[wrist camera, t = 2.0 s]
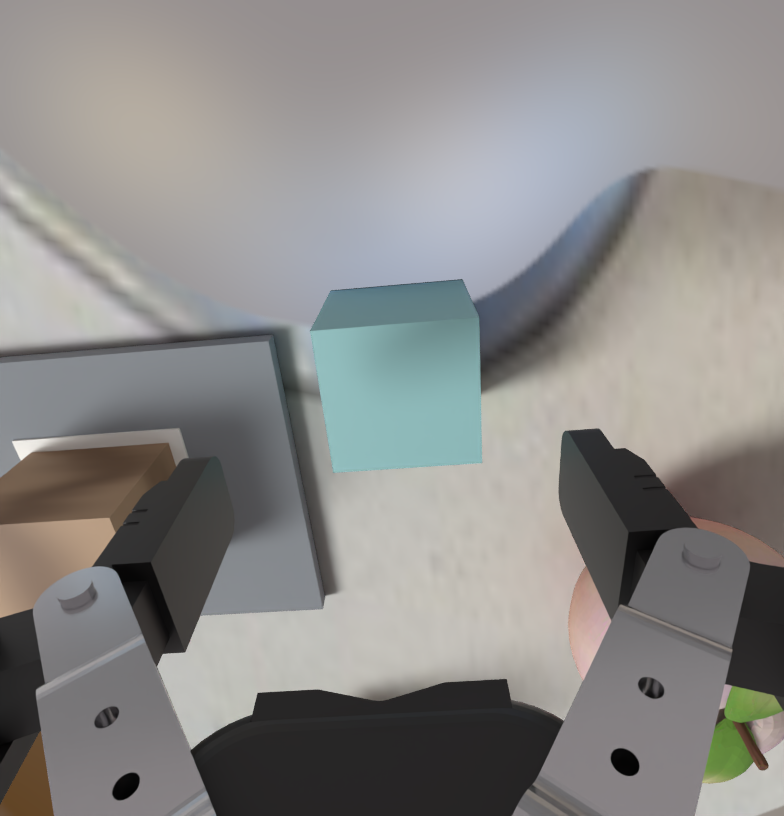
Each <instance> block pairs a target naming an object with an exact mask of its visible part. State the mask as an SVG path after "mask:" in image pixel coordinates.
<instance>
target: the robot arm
mask: <svg viewBox="0 0 784 816" xmlns="http://www.w3.org/2000/svg"><path fill="white" fill-rule="evenodd" d="M559 501H560V506H561V510H562V513H563V516H564V518H565V520H566V522H567V525H568V527H569V529H570V531H571V533H572V536H573V538H574V540H575V542H576V544H577V547H578V549H579V551H580V553H581V555H582V558H583V560H584V562H585V564H586V566H587V569H588V571H589V573H590V575H591V578H592V580H593V582H594V584H595V586H596V589H597V591H598V593H599V595H600V597H601V600H602V602H603V604H604V606H605V608H606V611H607V613H608V615H609V617H610V619H611V623H610V625H609V627H608V630H607V632H606V634H605V636H604V638H603V640H602V642H601V644H600V646H599V649H598V651H597V653H596V655H595V657H594V659H593V661H592V663H591V665H590V668H589V670H588V672H587V674H586V676H585V678H584V680H583V682H582V684H581V687H580V689H579V691H578V693H577V695H576V697H575V699H574V701H573V703H572V706H571V708H570V710H569V712H568V714H567V716H566V718H565V720H564V721H563V720H562V719H560V718H558V717H556V716H555V715H553V714H551V713H549V712H547V711H544V710H542V709H540V708H538V707H535V706H532V705H528V704H525V703H522V702H518V701H513V700H511V698H510V693H509V689H508V684H507V679H499V680H481V681H463V682H445V683H441V684H438V685H435V686H432V687H428V688H425V689H422V690H419V691H415V692H412V693H409V694H405V695H402V696H399V697H396V698H392V699H389V700H385V701H373V700H368V699H363V698H358V697H353V696H348V695H343V694H338V693H333V692H328V691H323V690H301V691H283V692H265V693H258V694H257V698H256V702H255V706H254V710H253V714H252V715H250V716H247V717H244V718H242V719H240V720H237V721H235V722H233V723H230V724H229V725H227V726H225V727H223V728H221V729H220V730H218V731H216V732H214V733H213V734H212V735H210V736H209V737H207V738H206V739H204V740H203V741H201V742H200V743H199V744H198V745H196V746H195V747H194V748H193V749H192V750H191V748H190V746H189V743H188V741H187V738H186V736H185V734H184V731H183V729H182V726H181V724H180V721H179V719H178V717H177V714H176V712H175V709H174V707H173V705H172V702H171V700H170V697H169V695H168V692H167V690H166V688H165V685H164V683H163V680H162V678H161V675H160V673H159V671H158V668H157V665H158V663H159V661H160V658H161V656H162V654H166V653H183V652H186V649H187V647H188V644H189V642H190V639H191V637H192V634H193V632H194V629H195V627H196V624H197V622H198V620H199V617H200V615H201V612H202V610H203V607H204V605H205V602H206V600H207V597H208V595H209V593H210V590H211V588H212V585H213V583H214V580H215V578H216V575H217V573H218V570H219V568H220V566H221V563H222V561H223V558H224V556H225V553H226V551H227V548H228V546H229V543H230V541H231V539H232V536H233V532H234V523H235V519H234V510H233V506H232V502H231V499H230V495H229V491H228V488H227V484H226V480H225V477H224V473H223V469H222V466H221V463H220V461H219V459H218V458H217V457H216V456H209V457H196V458H184V459H182V460H181V461H180V462H179V464H178V465H177V467H176V468H175V470H174V471H173V473H172V474H171V476H170V477H169V479H168V480H167V481H160V482H159V483H158V484H156V485H155V486H154V487H152V488H151V489H150V490H148V491H147V492H146V493H145V494H143V495H142V497H141V498H140V499H139V501H138V502H137V504H136V505H135V507H134V508H133V509H132V513H130V514H129V515H128V516H127V518H126V519H125V521H124V522H123V526H120V528H119V529H118V531H117V532H116V533H115V535H114V536H113V538H112V539H111V540H110V542H109V543H108V545H107V546H106V547H105V549H104V550H103V552H102V553H101V555H100V556H99V557H98V559H97V560H96V562H95V563H94V564H93V566H92V567H89V568H85V569H81V570H78V571H76V572H73V573H71V574H69V575H67V576H65V577H63V578H61V579H60V580H58V581H56V582H55V583H54V584H52V585H51V586H50V587H49V588H47V589H46V590H45V591H44V592H43V593H42V594H41V596H40V597H39V598H38V600H37V601H36V603H35V605H34V608H32V609H29V610H26V611H22V612H19V613H15V614H12V615H8V616H5V617H2V618H0V804H1V802H2V800H3V798H4V796H5V794H6V793H7V791H8V789H9V787H10V785H11V783H12V781H13V779H14V778H15V776H16V774H17V772H18V770H19V768H20V767H21V765H22V763H23V761H24V759H25V757H26V756H27V753H28V752H29V750H30V748H31V746H32V745H33V743H34V741H35V739H36V737H37V735H38V733H39V732H40V731H41V732H42V739H43V746H44V752H45V758H46V765H47V772H48V778H49V785H50V791H51V798H52V805H53V811H54V816H695V812H696V807H697V803H698V799H699V794H700V790H701V785H702V781H703V777H704V772H705V768H706V764H707V759H708V755H709V751H710V746H711V742H712V738H713V733H714V729H715V725H716V720H717V716H718V712H719V707H720V703H721V699H722V694H723V690H724V686H725V684H726V685H731V686H735V687H739V688H744V689H748V690H753V691H757V692H762V693H766V694H770V695H774V696H775V698H776V700H777V701H778V703H779V705H780V706H781V708H782V709H783V711H784V567H779V566H772V565H766V564H760V563H755V562H751V561H749V560H748V558H747V556H746V554H745V553H744V552H743V550H742V549H740V548H739V547H738V546H737V545H736V544H735V543H733V542H732V541H730V540H728V539H727V538H725V537H723V536H721V535H718V534H716V533H713V532H710V531H707V530H703V529H698V527H697V526H696V525H695V524H694V522H693V521H692V520H691V519H690V517H689V516H688V515H687V513H686V512H685V511H684V510H683V508H682V507H681V506H680V505H679V503H678V502H677V501H676V499H675V498H674V497H673V496H672V494H671V493H670V492H669V491H668V489H665V486H664V484H663V483H662V482H661V480H660V479H659V478H658V477H656V474H655V473H654V472H653V470H652V469H651V468H650V466H649V465H648V464H647V463H646V461H645V460H644V459H642V458H640V457H639V456H637V455H635V454H634V453H632V452H631V451H629V450H627V449H626V448H621V449H614V448H613V447H612V445H611V444H610V442H609V441H608V440H607V438H606V437H605V436H604V434H603V433H602V431H601V430H600V429H584V430H571V431H565V432H564V433H563V436H562V443H561V459H560V474H559Z"/></svg>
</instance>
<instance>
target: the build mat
mask: <svg viewBox="0 0 784 816" xmlns="http://www.w3.org/2000/svg"><path fill="white" fill-rule="evenodd" d="M157 443H169V445H170V449H171V452H172V455H173V458H174V461H175V464H176V467H177V465H178V464H179V462H180V461H181V460H182V459H184V458H196V457H209V456H216V457H217V458H218V459H219V461H220V463H221V466H222V469H223V473H224V477H225V480H226V484H227V488H228V491H229V495H230V499H231V502H232V506H233V510H234V519H235V523H234V532H233V536H232V539H231V541H230V543H229V546H228V548H227V551H226V553H225V556H224V558H223V561H222V563H221V566H220V568H219V570H218V573H217V575H216V578H215V580H214V583H213V585H212V588H211V590H210V593H209V595H208V597H207V600H206V602H205V605H204V607H203V610H202V612H201V615H200V616H202V615H221V614H240V613H258V612H277V611H296V610H315V609H323V606H324V600H325V594H324V589H323V584H322V579H321V574H320V569H319V564H318V559H317V554H316V549H315V544H314V539H313V534H312V529H311V524H310V519H309V514H308V509H307V504H306V499H305V493H304V488H303V483H302V478H301V473H300V468H299V463H298V458H297V453H296V448H295V443H294V438H293V433H292V428H291V423H290V418H289V413H288V408H287V403H286V398H285V393H284V388H283V383H282V378H281V373H280V367H279V362H278V357H277V352H276V347H275V342H274V337H273V335H261V336H249V337H237V338H225V339H213V340H201V341H189V342H177V343H165V344H153V345H141V346H129V347H117V348H105V349H93V350H81V351H69V352H57V353H45V354H33V355H20V356H8V357H0V478H1V477H2V476H3V475H4V474H6V473H7V472H8V471H9V470H11V469H12V468H13V467H14V466H15V465H17V464H18V463H19V462H20V461H21V460H23V459H24V458H25V457H26V456H27V455H29V454H30V453H32V452H46V451H60V450H74V449H88V448H102V447H115V446H129V445H143V444H157Z"/></svg>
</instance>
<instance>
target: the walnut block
mask: <svg viewBox="0 0 784 816" xmlns="http://www.w3.org/2000/svg"><path fill="white" fill-rule="evenodd" d="M175 468H176V464H175V461H174V458H173V455H172V452H171V449H170V445H169V443H157V444H143V445H129V446H115V447H102V448H88V449H74V450H60V451H46V452H32V453H30V454H29V455H27V456H26V457H25V458H24V459H23V460H21V461H20V462H19V463H18V464H17V465H15V466H14V467H13V468H12V469H11V470H9V471H8V472H7V473H6V474H4V475H3V476H2V477H1V478H0V618H2V617H5V616H8V615H12V614H15V613H19V612H22V611H26V610H29V609H32V608H34V605H35V603H36V601H37V600H38V598H39V597H40V596H41V594H42V593H43V592H44V591H45V590H46V589H47V588H49V587H50V586H51V585H52V584H54V583H55V582H56V581H58V580H60V579H61V578H63V577H65V576H67V575H69V574H71V573H73V572H76V571H78V570H81V569H85V568H89V567H92V566H93V564H94V563H95V562H96V560H97V559H98V557H99V556H100V555H101V553H102V552H103V550H104V549H105V547H106V546H107V545H108V543H109V542H110V540H111V539H112V538H113V536H114V535H115V533H116V532H117V531H118V529H119V528H120V526H123V522H124V521H125V519H126V518H127V516H128V515H129V514H130V513H132V509H133V508H134V507H135V505H136V504H137V502H138V501H139V499H140V498H141V497H142V495H143V494H145V493H146V492H147V491H148V490H150V489H151V488H152V487H154V486H155V485H156V484H158V483H159V482H160V481H167V480H168V479H169V477H170V476H171V474H172V473H173V471H174V470H175Z"/></svg>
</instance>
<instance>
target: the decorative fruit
mask: <svg viewBox="0 0 784 816" xmlns="http://www.w3.org/2000/svg"><path fill="white" fill-rule="evenodd" d="M690 519H691V520H692V521H693V522H694V524H695V525H696V526H697V527H698V529H703V530H707V531H710V532H713V533H716V534H718V535H721V536H723V537H725V538H727V539H728V540H730V541H732V542H733V543H735V544H736V545H737V546H738V547H739V548H740V549H742V550H743V552H744V553H745V554H746V556H747V558H748V560H749V561H751V562H755V563H760V564H766V565H772V566H779V567H784V558H783V557H782V556H781V555H780V554H779V553H778V552H777V551H775V550H774V549H772V548H771V547H769V546H768V545H766V544H765V543H764V542H762V541H761V540H759V539H757V538H755V537H753V536H751V535H749V534H747V533H745V532H743V531H741V530H739V529H736V528H733V527H731V526H728V525H725V524H722V523H718V522H714V521H710V520H705V519H699V518H692V517H690ZM610 623H611V619H610V617H609V615H608V613H607V611H606V608H605V606H604V604H603V602H602V600H601V597H600V595H599V593H598V591H597V589H596V586H595V584H594V582H593V580H592V578H591V575H590V573H589V571H588V569H587V566H586V567H585V568H584V569H583V571H582V573H581V574H580V576H579V579H578V581H577V583H576V585H575V588H574V591H573V596H572V600H571V605H570V611H569V621H568V627H569V641H570V645H571V650H572V654H573V658H574V660H575V663H576V666H577V668H578V671H579V674H580V676H581V678H582V680H584V678H585V676H586V674H587V672H588V670H589V668H590V665H591V663H592V661H593V659H594V657H595V655H596V653H597V651H598V649H599V646H600V644H601V642H602V640H603V638H604V636H605V634H606V632H607V630H608V627H609V625H610ZM783 739H784V711H783V709H782V708H781V706H780V705H779V703H778V701H777V700H776V698H775V696H774V695H770V694H766V693H762V692H757V691H753V690H748V689H744V688H739V687H735V686H731V685H726V684H725V686H724V690H723V694H722V699H721V703H720V707H719V712H718V716H717V720H716V725H715V729H714V733H713V738H712V742H711V746H710V751H709V755H708V759H707V764H706V768H705V772H704V777H703V781H702V783H708V784H710V783H720V782H725V781H728V780H731V779H733V778H735V777H737V776H739V775H741V774H742V773H744V772H745V771H746V770H747V769H748V768H749V767H750V765H751V764H752V763H753V762H755V764H756V766H757V767H758V768H759V769H760V770H766V769H767V768H768V763H767V761H766V759H765V757H764V756H763V754H764V753H766V752H767V751H769V750H771V749H772V748H774V747H775V746H776V745H778V744H779V743H780V742H781V741H782V740H783Z"/></svg>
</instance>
